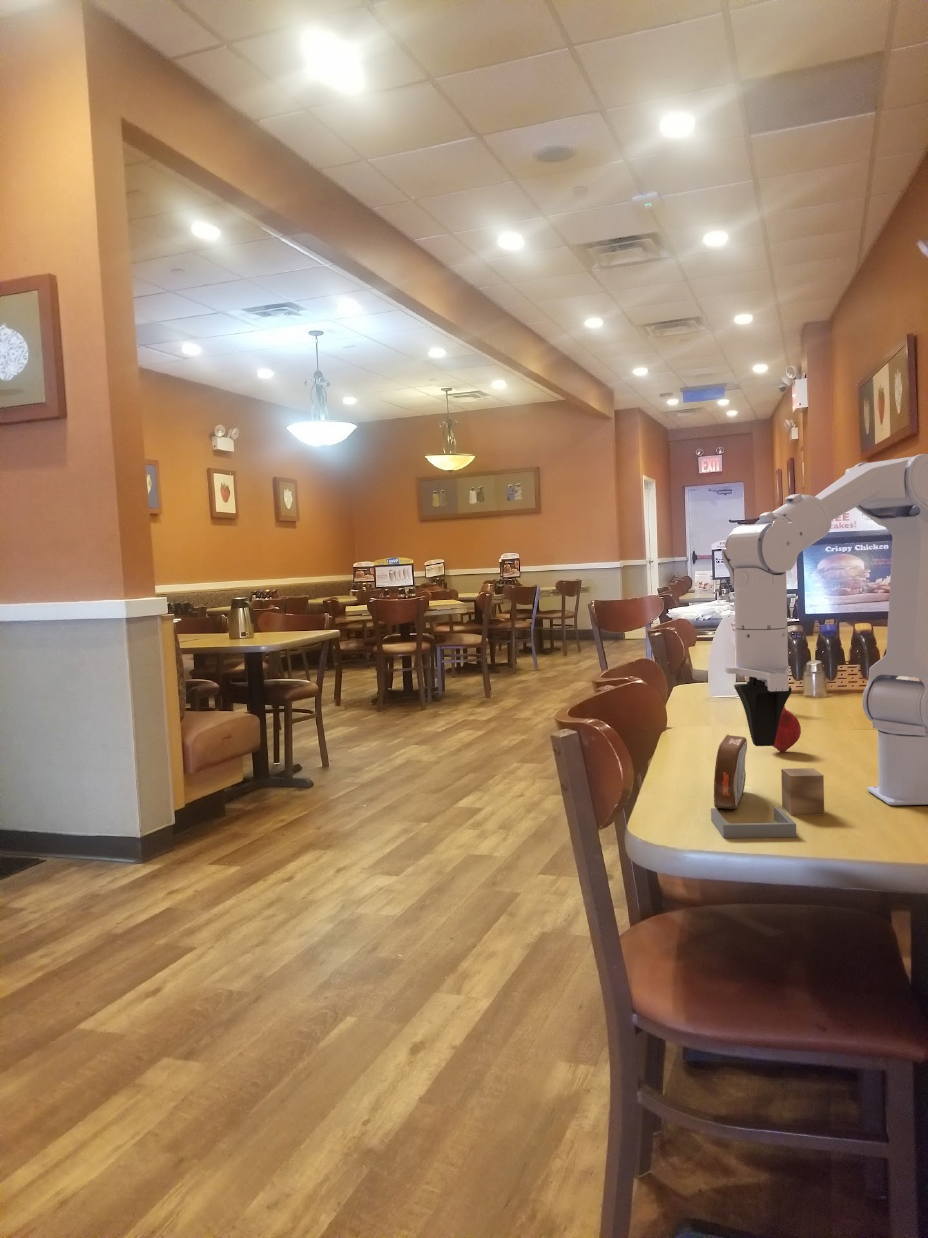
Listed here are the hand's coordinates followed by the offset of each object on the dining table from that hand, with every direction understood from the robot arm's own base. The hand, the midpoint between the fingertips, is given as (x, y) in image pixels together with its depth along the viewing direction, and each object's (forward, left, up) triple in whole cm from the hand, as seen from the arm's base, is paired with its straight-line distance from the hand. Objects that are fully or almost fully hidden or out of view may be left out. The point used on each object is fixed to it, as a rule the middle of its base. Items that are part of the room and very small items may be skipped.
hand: (763, 745), depth 103 cm
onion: (-14, -44, -11) cm, 48 cm away
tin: (+1, -14, -11) cm, 18 cm away
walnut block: (-7, -9, -10) cm, 16 cm away
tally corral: (+1, -2, -10) cm, 11 cm away
